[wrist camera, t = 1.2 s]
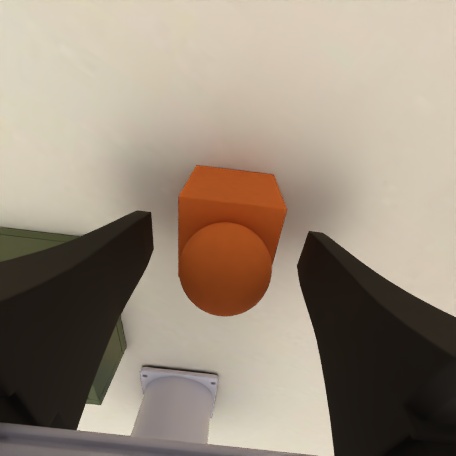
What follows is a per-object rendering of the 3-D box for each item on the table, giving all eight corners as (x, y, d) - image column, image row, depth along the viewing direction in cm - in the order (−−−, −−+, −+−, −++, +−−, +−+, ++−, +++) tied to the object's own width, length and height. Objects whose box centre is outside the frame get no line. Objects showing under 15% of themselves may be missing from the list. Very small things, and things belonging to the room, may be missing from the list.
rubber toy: (260, 238, 15) (274, 349, 9) (193, 231, 15) (158, 337, 9) (274, 174, 13) (307, 258, 7) (196, 164, 13) (151, 240, 7)
